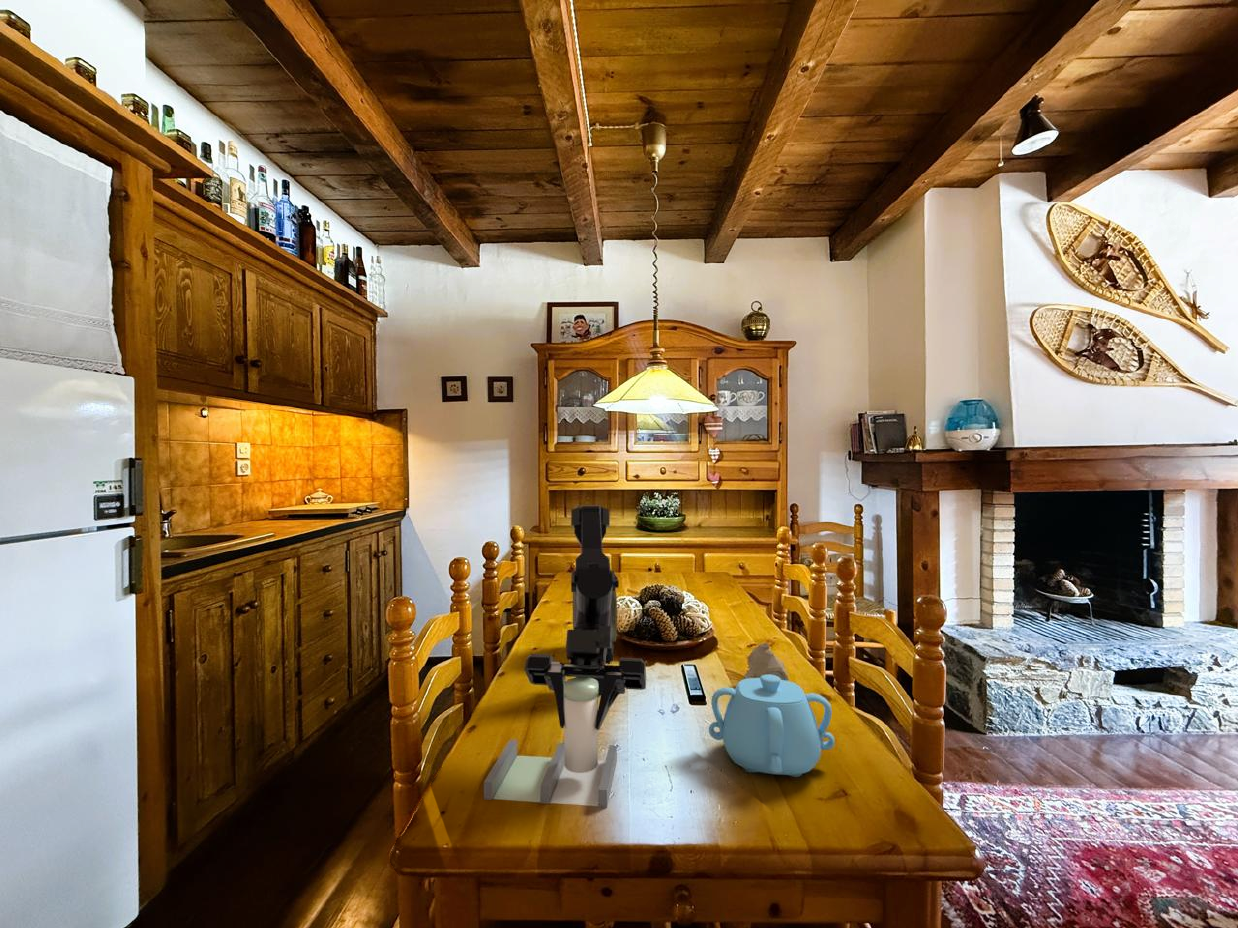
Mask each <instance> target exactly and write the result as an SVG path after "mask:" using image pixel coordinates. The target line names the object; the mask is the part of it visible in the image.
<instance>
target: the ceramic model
mask: <svg viewBox="0 0 1238 928" xmlns="http://www.w3.org/2000/svg"><path fill="white" fill-rule="evenodd" d="M746 661H747V662H746V663H747V665H748V667H749V669H747V670H746V673H745V674H744V676H743V679H748V678H760V677H761V676H762V675H775V676H777V677H779V678H780V679H781V680H785V681H789V679H790V677H789V674H788V672H787V670H786V666H785V665H784V663H783V661H782V660H780V659H779V658H778V657H777V656H776V655H775V654H774V652H773V651H772V650H770V645H769V643H768V642H766V643H765V642H763V643H762V642H761V643H759V644H758V645H757V647H754V648H753V650H752V651H751V652H750V653H749V656H748V657H747V660H746Z"/></svg>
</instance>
